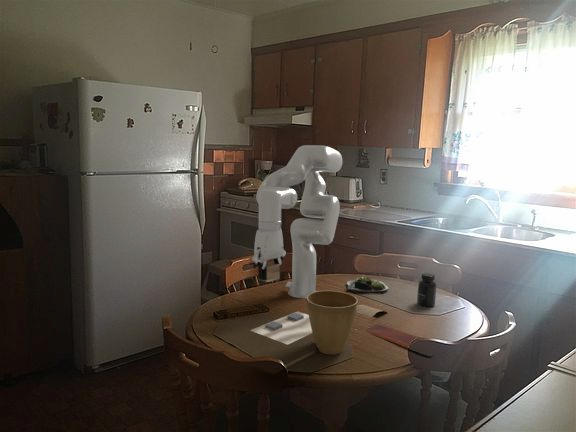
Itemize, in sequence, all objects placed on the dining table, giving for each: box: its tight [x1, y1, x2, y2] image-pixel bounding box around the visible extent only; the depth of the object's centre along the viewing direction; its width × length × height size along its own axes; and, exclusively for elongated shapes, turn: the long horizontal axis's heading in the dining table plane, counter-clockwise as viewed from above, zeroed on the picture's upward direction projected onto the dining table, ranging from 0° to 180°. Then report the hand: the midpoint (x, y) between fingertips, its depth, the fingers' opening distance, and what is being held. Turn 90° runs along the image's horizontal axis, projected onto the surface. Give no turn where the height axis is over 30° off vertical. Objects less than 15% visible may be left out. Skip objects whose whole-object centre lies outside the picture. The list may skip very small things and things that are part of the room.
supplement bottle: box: [416, 272, 437, 308], centre depth 181 cm, size 7×7×12 cm
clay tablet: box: [355, 304, 388, 318], centre depth 170 cm, size 14×10×3 cm
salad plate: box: [346, 276, 389, 294], centre depth 203 cm, size 19×18×5 cm
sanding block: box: [258, 261, 281, 283], centre depth 160 cm, size 4×6×5 cm, turn 137°
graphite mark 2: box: [286, 312, 304, 322], centre depth 161 cm, size 4×4×1 cm
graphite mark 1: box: [264, 320, 282, 331], centre depth 153 cm, size 4×4×1 cm
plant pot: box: [306, 290, 359, 356], centre depth 139 cm, size 15×15×16 cm
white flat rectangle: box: [249, 311, 313, 345], centre depth 154 cm, size 16×24×1 cm, turn 139°
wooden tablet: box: [364, 323, 420, 350], centre depth 148 cm, size 27×10×2 cm, turn 39°
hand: (269, 277), depth 160 cm, fingers closed on sanding block, 6 cm apart
